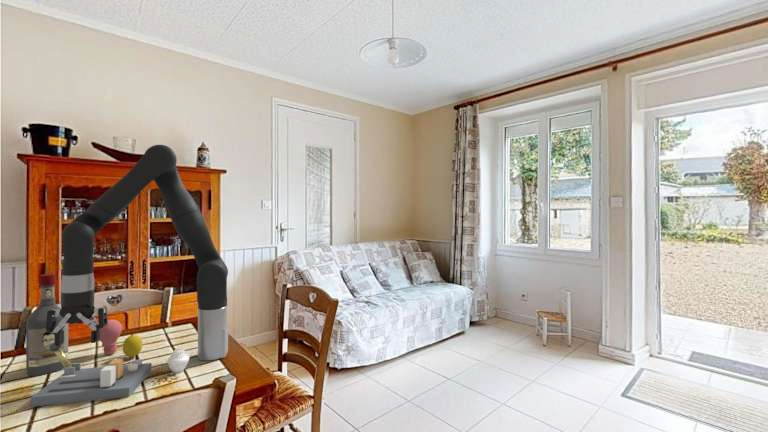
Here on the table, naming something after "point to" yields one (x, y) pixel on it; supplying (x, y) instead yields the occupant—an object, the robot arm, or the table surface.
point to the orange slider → (117, 367)
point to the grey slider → (107, 376)
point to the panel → (90, 385)
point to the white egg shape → (178, 360)
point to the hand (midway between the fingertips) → (77, 343)
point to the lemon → (132, 345)
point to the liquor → (43, 333)
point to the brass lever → (60, 354)
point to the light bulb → (110, 336)
